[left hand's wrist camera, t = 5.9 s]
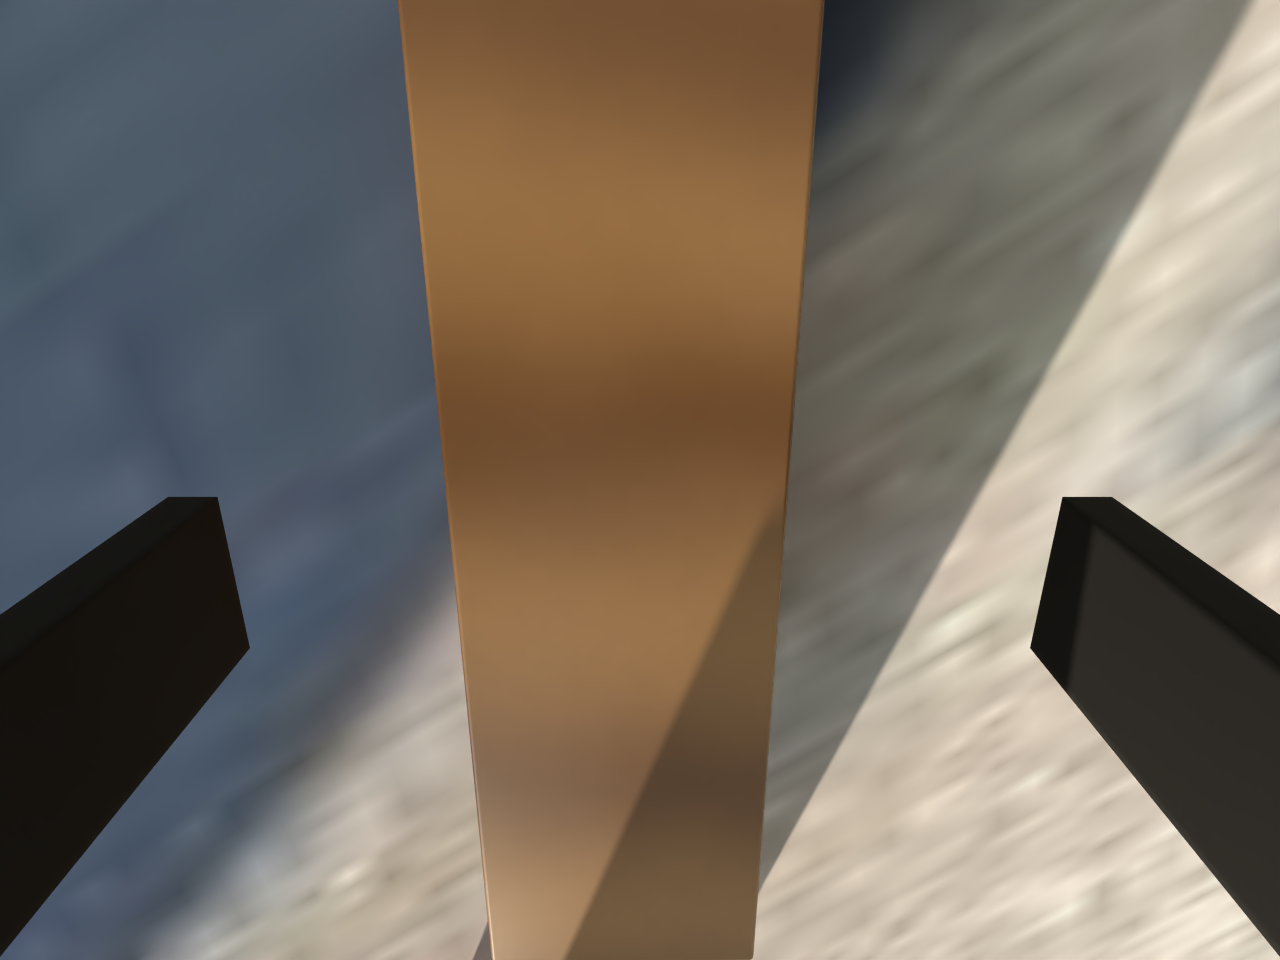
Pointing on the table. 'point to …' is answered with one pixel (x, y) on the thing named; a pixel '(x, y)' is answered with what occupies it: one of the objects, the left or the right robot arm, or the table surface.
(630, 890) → the bar
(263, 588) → the table surface
